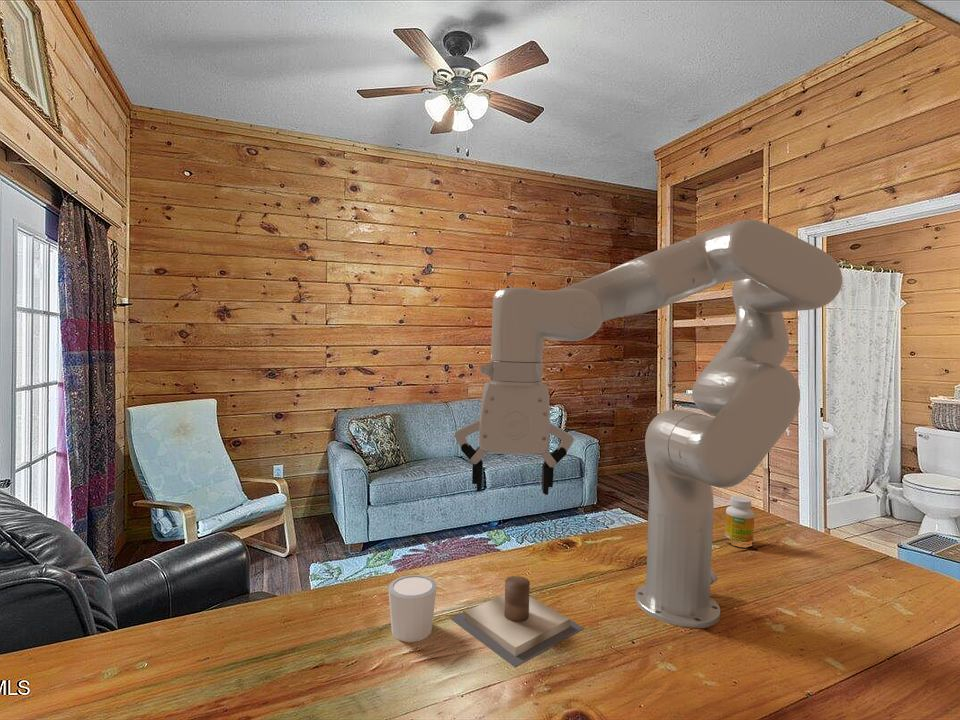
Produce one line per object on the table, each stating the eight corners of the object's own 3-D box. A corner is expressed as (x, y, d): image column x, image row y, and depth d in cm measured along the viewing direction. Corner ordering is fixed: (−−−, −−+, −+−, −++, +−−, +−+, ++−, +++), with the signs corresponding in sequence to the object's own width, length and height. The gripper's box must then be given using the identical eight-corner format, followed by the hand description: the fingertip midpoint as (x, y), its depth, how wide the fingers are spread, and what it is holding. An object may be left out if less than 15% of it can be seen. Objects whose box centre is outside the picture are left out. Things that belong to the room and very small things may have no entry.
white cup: (427, 651, 67) (428, 600, 67) (379, 644, 68) (380, 594, 68) (441, 623, 74) (442, 576, 73) (397, 617, 75) (398, 571, 75)
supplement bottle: (729, 547, 103) (731, 501, 103) (721, 537, 109) (722, 493, 108) (757, 550, 102) (759, 503, 102) (747, 539, 108) (749, 495, 107)
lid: (517, 596, 81) (518, 558, 81) (569, 627, 72) (570, 585, 72) (464, 619, 74) (464, 578, 74) (515, 656, 65) (516, 610, 65)
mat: (517, 592, 83) (517, 589, 83) (584, 631, 72) (584, 628, 72) (449, 621, 74) (449, 618, 74) (514, 670, 63) (515, 666, 63)
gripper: (454, 373, 69) (450, 495, 69) (580, 378, 68) (575, 501, 69) (458, 370, 76) (455, 480, 77) (572, 374, 75) (567, 485, 76)
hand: (511, 490), depth 73 cm, fingers open, 9 cm apart
